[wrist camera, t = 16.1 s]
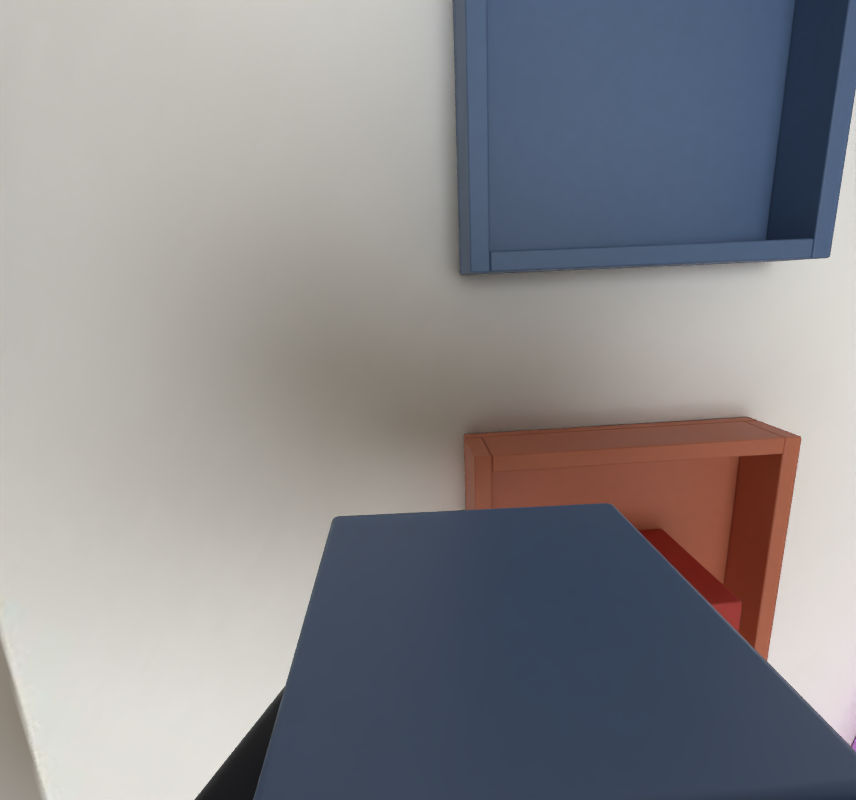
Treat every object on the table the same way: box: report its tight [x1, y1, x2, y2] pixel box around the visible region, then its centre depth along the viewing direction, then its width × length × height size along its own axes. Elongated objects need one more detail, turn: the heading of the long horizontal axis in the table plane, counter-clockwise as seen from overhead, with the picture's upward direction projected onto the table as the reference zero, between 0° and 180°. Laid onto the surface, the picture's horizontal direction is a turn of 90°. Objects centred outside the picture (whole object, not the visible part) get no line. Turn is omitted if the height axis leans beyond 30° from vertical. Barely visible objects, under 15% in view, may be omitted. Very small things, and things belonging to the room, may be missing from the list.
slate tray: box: [453, 0, 856, 275], centre depth 14 cm, size 11×13×2 cm
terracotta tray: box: [464, 417, 801, 661], centre depth 18 cm, size 11×13×2 cm
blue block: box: [253, 503, 856, 800], centre depth 6 cm, size 4×4×4 cm
